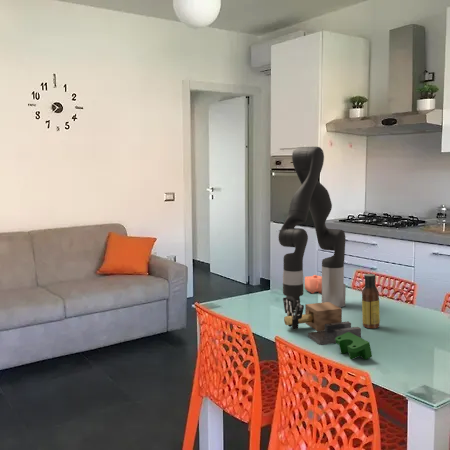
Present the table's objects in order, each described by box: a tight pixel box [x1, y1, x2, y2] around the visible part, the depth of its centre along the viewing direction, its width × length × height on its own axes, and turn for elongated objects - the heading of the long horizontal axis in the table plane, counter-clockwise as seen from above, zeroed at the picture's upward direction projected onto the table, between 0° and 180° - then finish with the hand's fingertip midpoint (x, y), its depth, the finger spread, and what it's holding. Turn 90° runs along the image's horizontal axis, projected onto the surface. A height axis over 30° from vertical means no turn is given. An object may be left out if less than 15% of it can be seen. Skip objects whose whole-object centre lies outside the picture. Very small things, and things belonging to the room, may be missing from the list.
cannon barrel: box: [283, 313, 314, 326], centre depth 194 cm, size 16×3×3 cm, turn 107°
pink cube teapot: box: [304, 274, 322, 295], centre depth 249 cm, size 8×12×8 cm, turn 13°
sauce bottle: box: [361, 273, 381, 330], centre depth 194 cm, size 7×6×20 cm
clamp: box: [335, 332, 373, 360], centre depth 166 cm, size 12×6×9 cm, turn 14°
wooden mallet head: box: [304, 302, 343, 332], centre depth 196 cm, size 10×10×8 cm
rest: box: [307, 321, 362, 346], centre depth 183 cm, size 16×9×4 cm, turn 107°
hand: (293, 327), depth 193 cm, fingers closed on cannon barrel, 3 cm apart
